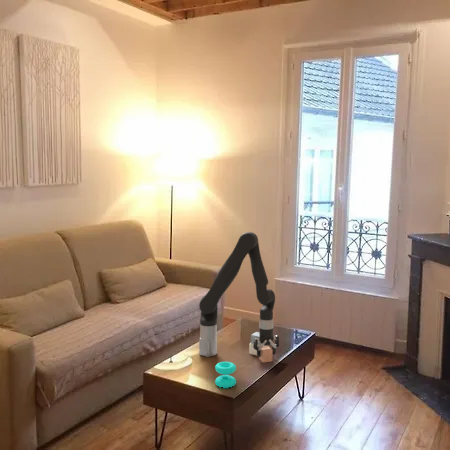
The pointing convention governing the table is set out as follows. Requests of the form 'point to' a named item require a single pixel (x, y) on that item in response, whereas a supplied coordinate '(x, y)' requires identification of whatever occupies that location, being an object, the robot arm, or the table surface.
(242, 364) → the table surface
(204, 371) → the table surface
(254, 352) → the cream base block
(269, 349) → the terracotta block
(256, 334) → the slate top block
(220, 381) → the donuts
